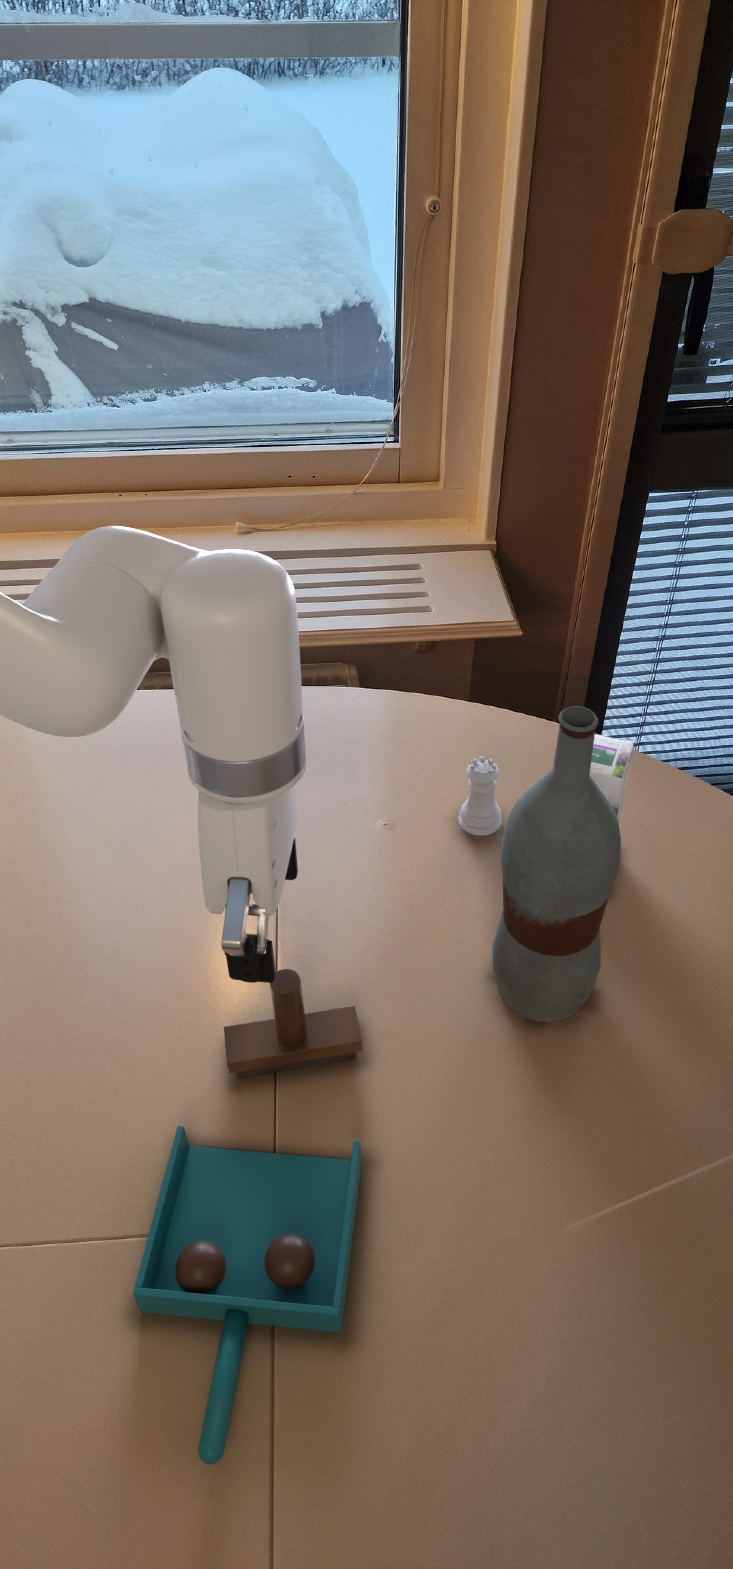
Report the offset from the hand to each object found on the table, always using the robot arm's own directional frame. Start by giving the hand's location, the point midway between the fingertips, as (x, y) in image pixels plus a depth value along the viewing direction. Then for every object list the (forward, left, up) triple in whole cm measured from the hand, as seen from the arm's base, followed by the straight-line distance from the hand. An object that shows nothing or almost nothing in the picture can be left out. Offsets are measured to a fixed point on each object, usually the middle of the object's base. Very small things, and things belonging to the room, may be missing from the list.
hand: (265, 924), depth 76 cm
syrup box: (+26, +24, -17) cm, 39 cm away
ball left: (-3, -19, -15) cm, 24 cm away
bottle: (+22, +9, -17) cm, 29 cm away
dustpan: (+1, -20, -16) cm, 26 cm away
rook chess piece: (+16, +29, -17) cm, 37 cm away
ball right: (+4, -18, -15) cm, 23 cm away
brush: (+1, 0, -16) cm, 16 cm away
